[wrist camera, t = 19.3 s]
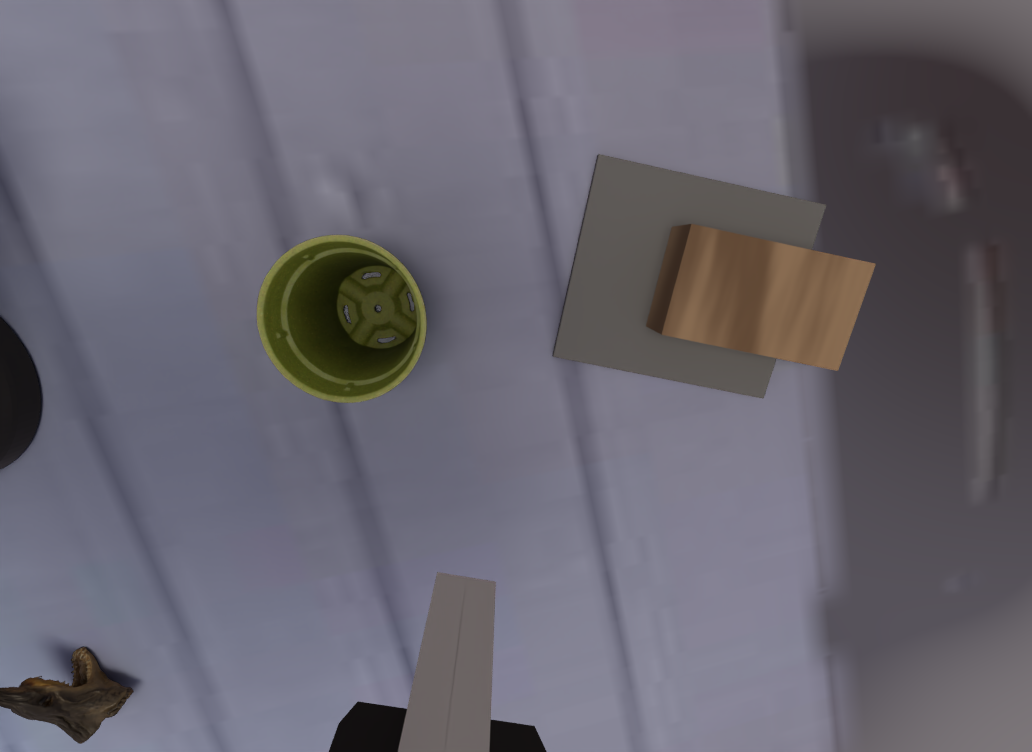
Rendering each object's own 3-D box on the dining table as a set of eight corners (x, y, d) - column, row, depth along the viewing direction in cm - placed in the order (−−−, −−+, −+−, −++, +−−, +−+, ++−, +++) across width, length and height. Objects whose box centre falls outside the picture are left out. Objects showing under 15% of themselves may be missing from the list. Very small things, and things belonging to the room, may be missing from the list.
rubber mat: (552, 354, 38) (553, 356, 38) (597, 156, 35) (598, 154, 35) (759, 396, 39) (763, 398, 39) (821, 205, 36) (826, 205, 36)
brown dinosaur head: (49, 638, 45) (-46, 702, 38) (102, 619, 43) (11, 683, 37) (96, 714, 46) (10, 790, 39) (149, 699, 44) (69, 775, 38)
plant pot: (296, 255, 37) (232, 256, 28) (426, 225, 36) (400, 217, 28) (335, 381, 39) (286, 418, 30) (458, 354, 38) (444, 383, 30)
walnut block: (661, 334, 34) (837, 370, 34) (691, 223, 32) (875, 263, 33) (645, 326, 37) (804, 358, 38) (671, 226, 36) (836, 262, 37)
